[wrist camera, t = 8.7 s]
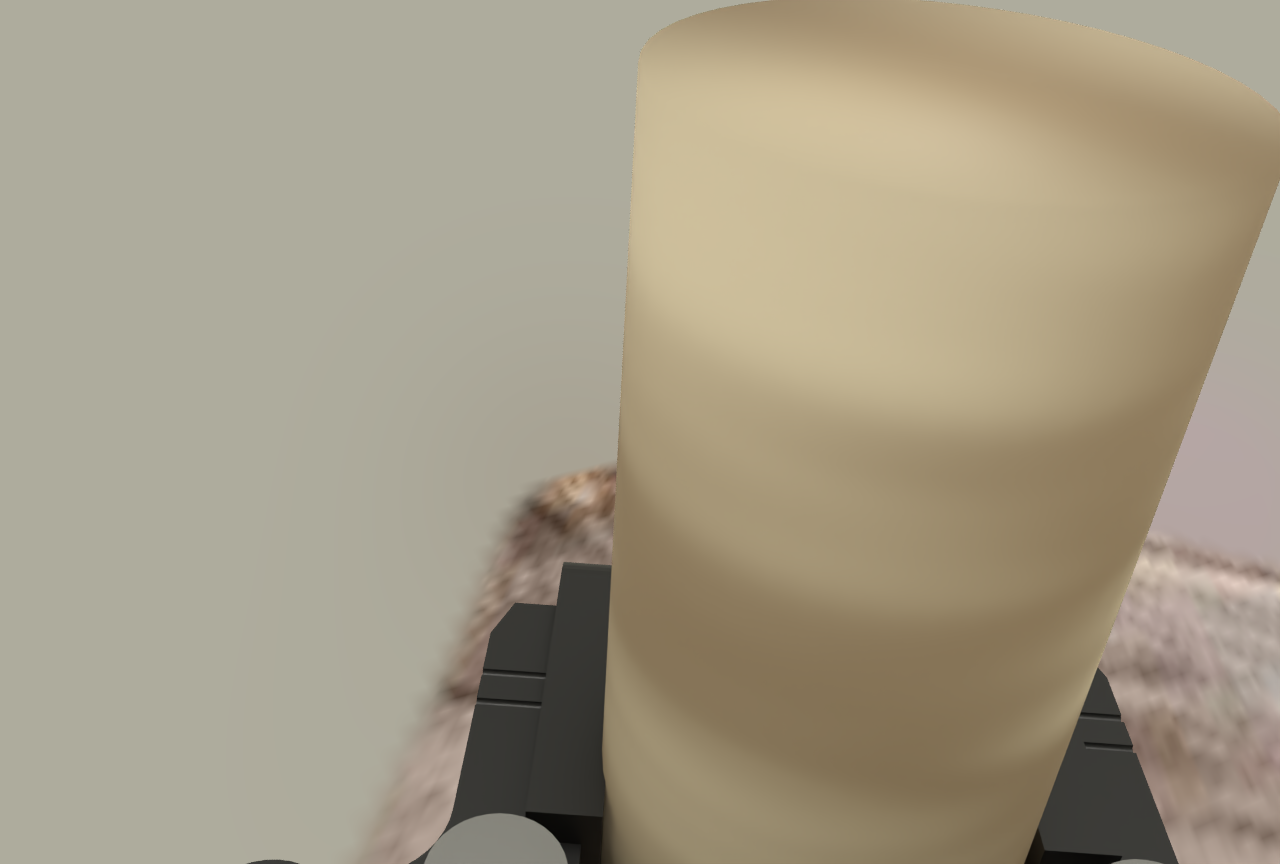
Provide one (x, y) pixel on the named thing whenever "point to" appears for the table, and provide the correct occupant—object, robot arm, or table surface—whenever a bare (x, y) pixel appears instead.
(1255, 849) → the table surface
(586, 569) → the robot arm
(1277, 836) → the table surface
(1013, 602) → the birch dowel
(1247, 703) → the table surface
